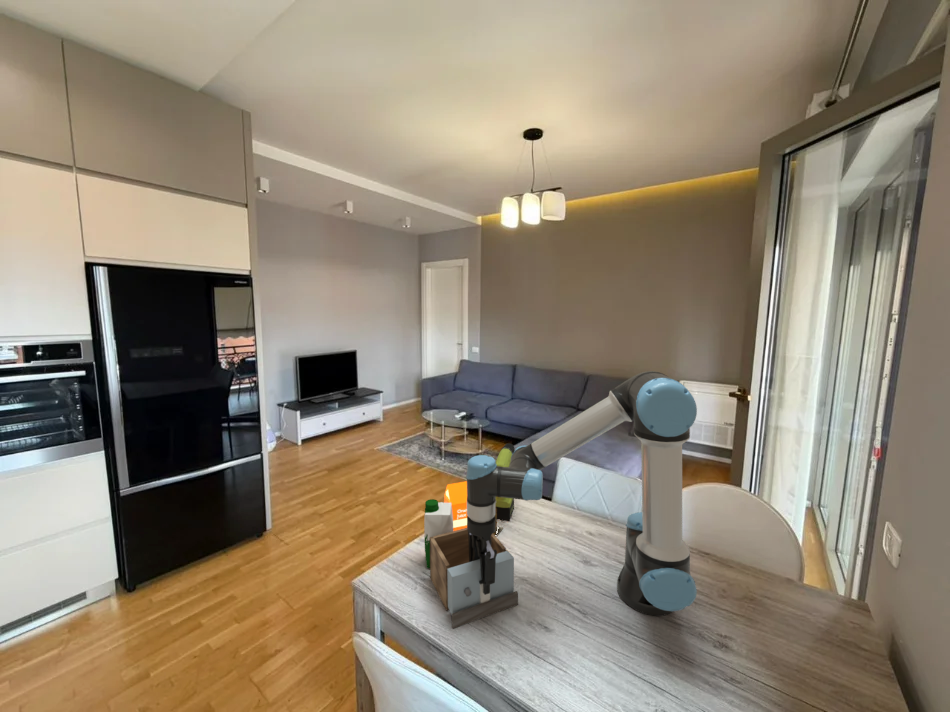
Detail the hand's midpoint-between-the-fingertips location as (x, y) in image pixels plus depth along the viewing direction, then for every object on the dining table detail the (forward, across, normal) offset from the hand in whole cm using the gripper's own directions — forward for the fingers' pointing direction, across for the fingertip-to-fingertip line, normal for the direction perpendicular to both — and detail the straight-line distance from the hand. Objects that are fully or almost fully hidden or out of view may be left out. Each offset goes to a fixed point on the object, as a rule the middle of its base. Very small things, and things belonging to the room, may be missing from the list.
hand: (481, 596), depth 104 cm
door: (+1, 0, 0) cm, 1 cm away
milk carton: (+3, +23, +4) cm, 23 cm away
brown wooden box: (+3, +7, 0) cm, 7 cm away
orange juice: (+3, +33, -7) cm, 34 cm away
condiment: (+3, +31, -18) cm, 36 cm away
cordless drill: (+3, +43, -31) cm, 53 cm away
